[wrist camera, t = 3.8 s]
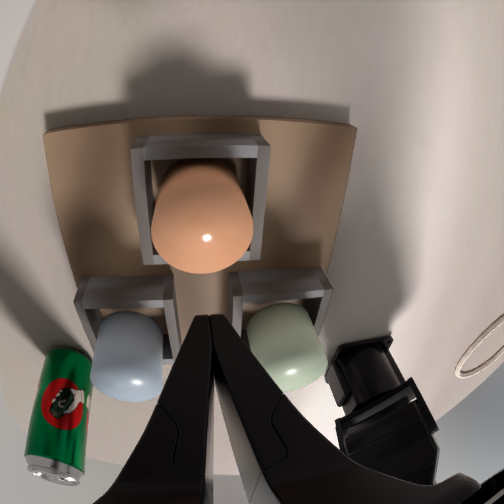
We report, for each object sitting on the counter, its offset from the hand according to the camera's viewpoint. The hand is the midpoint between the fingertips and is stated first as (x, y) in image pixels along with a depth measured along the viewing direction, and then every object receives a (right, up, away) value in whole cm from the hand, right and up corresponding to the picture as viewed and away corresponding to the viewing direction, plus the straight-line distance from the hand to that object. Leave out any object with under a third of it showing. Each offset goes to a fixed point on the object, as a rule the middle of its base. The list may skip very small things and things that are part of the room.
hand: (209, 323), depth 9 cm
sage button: (+3, -3, +12) cm, 13 cm away
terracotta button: (-2, +5, +7) cm, 9 cm away
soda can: (-16, -8, +16) cm, 24 cm away
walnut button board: (-2, +3, +11) cm, 12 cm away
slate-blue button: (-7, -3, +10) cm, 13 cm away
